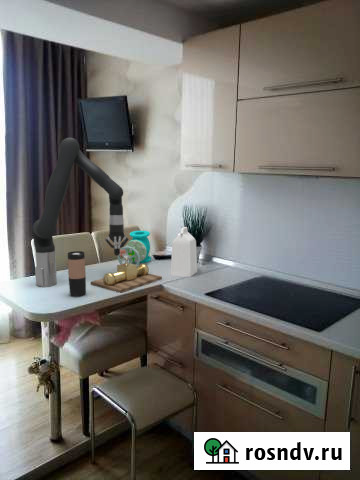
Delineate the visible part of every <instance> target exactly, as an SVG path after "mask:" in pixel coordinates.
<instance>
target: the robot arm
mask: <svg viewBox="0 0 360 480" xmlns="http://www.w3.org/2000/svg"><path fill="white" fill-rule="evenodd" d="M74 164H75V165H77V166H78V167H79V168H80V169H81V170H82V171H84V173H86V175H87V176H88V177H90V178H91V179H92V181H94V182H95V183H96V184H97V185H98V186H99V187H100V188H102V189H103V190H104V191H105V192H106V193H107V194H108V201H109V219H108V223H109V226H108V228H109V230H108V231H109V233H108V236H107V237H106V238H104V240H105V242H106V243H107V244H108V246H109V247H110V248H111V249H113V254H114V255H115V256H116V257H117V256H119V254H120V249H121V248H123V247H125V246H126V244H127V243H128V242H129V241H128V240H129V238H128V237H126V235H125V232H124V231H125V230H124V227H125V226H124V225H125V224H124V221H125V219H124V206H123V196H124V189H123V188H122V187H121V186H120V184H117V182H115V180H113V179H112V178H111V177H110V176H109V174H107V173H106V172H105V171H104V170H103V169H102V168H101V167H99V166H98V165H97V164H96V163H94V162H93V161H92V160H90V159H89V158H88V157H87V156H86V155H85V153H83V152H82V151H81V149H80V144H79V142H78V140H77V139H76V138H73V137H66V138H64V139H63V140H61V143H60V145H59V153H58V157H57V162H56V164H55V167H54V169H53V171H52V173H51V174H50V178H49V181H48V184H47V187H46V190H45V199H44V200H45V201H44V209H43V212H42V215H41V218H39V219H38V220H37V219H36V221H35V222H34V223H33V225H32V233H33V234H32V235H33V246H34V249H35V262H36V266H35V267H34V272H35V273H34V274H35V285H36V286H38V287H42V288H46V287H52V286H55V285H57V284H58V280H57V279H58V278H57V276H58V275H57V265H56V262H57V261H56V260H57V258H56V246H55V243H54V239H53V238H54V237H53V236H54V234H55V232H56V231H57V224H58V220H59V219H58V218H59V214H60V212H61V208H62V206H63V203H64V199H65V197H66V195H67V192H68V187H69V184H70V179H71V173H72V169H73V166H74ZM110 241H111V242H112V243H113V244H112V243H111V242H110Z"/></svg>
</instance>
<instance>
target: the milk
mask: <svg viewBox="0 0 360 480" xmlns="http://www.w3.org/2000/svg"><path fill="white" fill-rule="evenodd" d="M170 264H171V265H170V275H171V276H177V277H178V276H179V277H187V278H191V277H192V276H194V275H195V274H196V273H198V261H197V240H196V238H195V237H194V236H193V235H192V234H191V233H190V232H189V231H188V227H187V226H185V227H182V228H181V230H180V232H179V233H178V234H177V235H176V237H175V238H174V240H172V242H171V263H170Z"/></svg>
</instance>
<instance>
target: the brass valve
mask: <svg viewBox="0 0 360 480" xmlns="http://www.w3.org/2000/svg"><path fill="white" fill-rule="evenodd" d="M116 269H117V272H107V273H105V274H104V275H103V277H102V279H103V282H104V284H105V285H110V286H111V285H114V284H115V283H117V282H120V281H124V280H126V281H128V280H131V279H135V278H137V276H140V275H147V274H149V266H148V264H146V263H139V265H138V266H137V267H136V263H135V264H134V263H132V264H130V262H129V260H128V259H127V260H126V259H125V260H124V263H123V264H120V263H119V264H118V265H116Z"/></svg>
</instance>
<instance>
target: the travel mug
mask: <svg viewBox="0 0 360 480" xmlns="http://www.w3.org/2000/svg"><path fill="white" fill-rule="evenodd" d="M85 257H86V256H85V252H84V251H80V250H78V251H76V250H73V251H69V252H68V253H67V269H68V286H69V296H70V297H73V298H80V297H81V298H82V297H85V296H86V294H87V284H86V283H87V281H86V279H87V276H86V273H87V272H86V260H85Z"/></svg>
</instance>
